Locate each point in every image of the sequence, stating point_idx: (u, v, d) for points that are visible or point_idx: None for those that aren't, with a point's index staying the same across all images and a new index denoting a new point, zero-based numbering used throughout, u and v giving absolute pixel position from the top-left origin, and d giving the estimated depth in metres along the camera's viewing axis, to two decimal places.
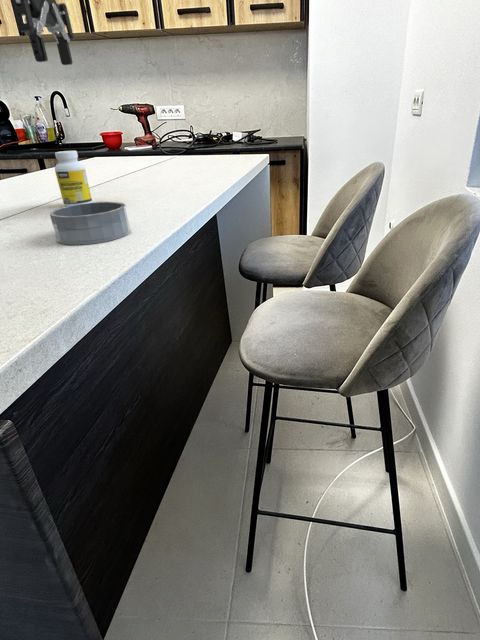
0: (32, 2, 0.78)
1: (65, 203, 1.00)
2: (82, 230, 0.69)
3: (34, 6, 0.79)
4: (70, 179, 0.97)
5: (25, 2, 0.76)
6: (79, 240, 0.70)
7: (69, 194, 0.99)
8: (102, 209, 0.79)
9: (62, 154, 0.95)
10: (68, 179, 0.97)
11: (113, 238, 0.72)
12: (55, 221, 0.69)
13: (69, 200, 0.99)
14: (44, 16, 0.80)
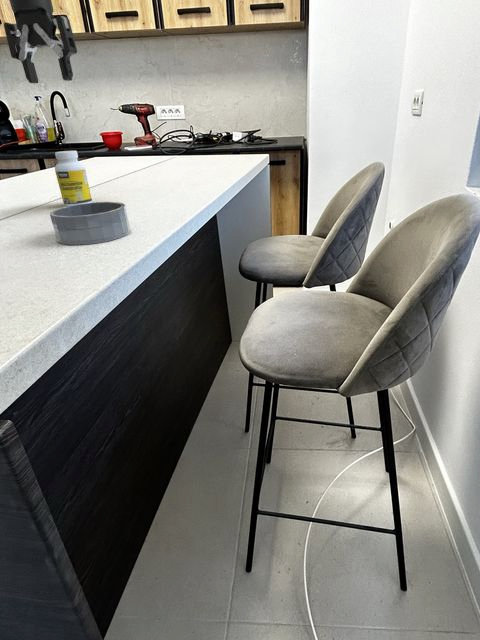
0: (56, 27, 0.85)
1: (65, 203, 1.00)
2: (82, 230, 0.69)
3: (55, 30, 0.85)
4: (70, 179, 0.97)
5: None
6: (79, 240, 0.70)
7: (69, 194, 0.99)
8: (102, 209, 0.79)
9: (62, 154, 0.95)
10: (68, 179, 0.97)
11: (113, 238, 0.72)
12: (55, 221, 0.69)
13: (69, 199, 0.99)
14: None
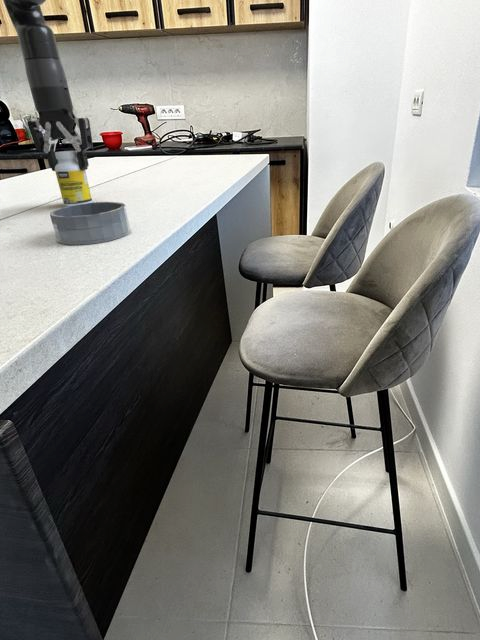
0: (76, 123, 0.94)
1: (65, 203, 1.00)
2: (82, 230, 0.69)
3: None
4: (70, 179, 0.97)
5: None
6: (79, 240, 0.70)
7: (69, 194, 0.99)
8: (102, 209, 0.79)
9: (62, 154, 0.95)
10: (68, 179, 0.97)
11: (113, 238, 0.72)
12: (55, 221, 0.69)
13: (69, 199, 0.99)
14: None
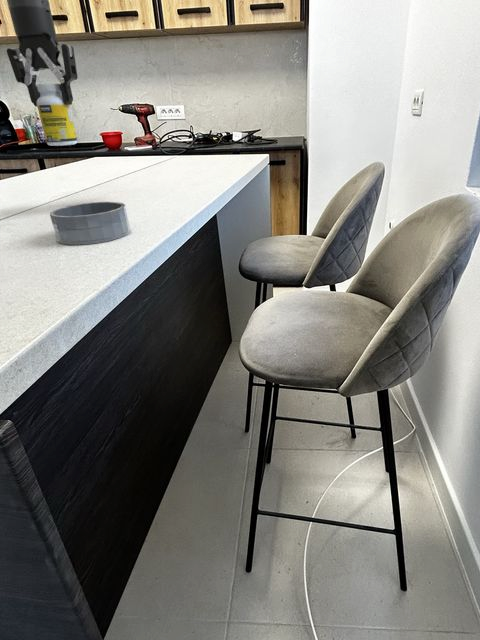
0: (59, 52, 0.88)
1: (48, 141, 0.94)
2: (82, 230, 0.69)
3: None
4: (53, 113, 0.91)
5: None
6: (79, 240, 0.70)
7: (52, 131, 0.92)
8: (102, 209, 0.79)
9: (44, 85, 0.89)
10: (51, 114, 0.91)
11: (113, 238, 0.72)
12: (55, 221, 0.69)
13: (52, 137, 0.93)
14: None
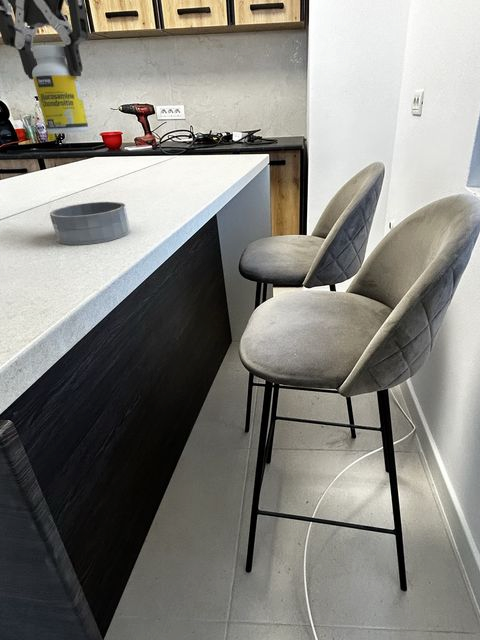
0: (63, 0, 0.62)
1: (48, 128, 0.68)
2: (82, 230, 0.69)
3: None
4: (56, 88, 0.65)
5: None
6: (79, 240, 0.70)
7: (55, 113, 0.66)
8: (102, 209, 0.79)
9: (43, 48, 0.63)
10: (53, 89, 0.65)
11: (113, 238, 0.72)
12: (55, 221, 0.69)
13: (55, 122, 0.67)
14: None
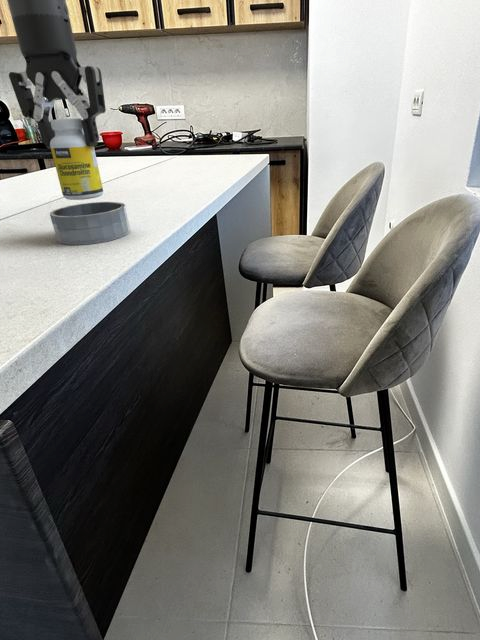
0: (81, 76, 0.64)
1: (65, 195, 0.70)
2: (82, 230, 0.69)
3: None
4: (73, 159, 0.67)
5: None
6: (79, 240, 0.70)
7: (72, 182, 0.68)
8: (102, 209, 0.79)
9: (61, 122, 0.65)
10: (70, 160, 0.67)
11: (113, 238, 0.72)
12: (55, 221, 0.69)
13: (71, 189, 0.69)
14: None
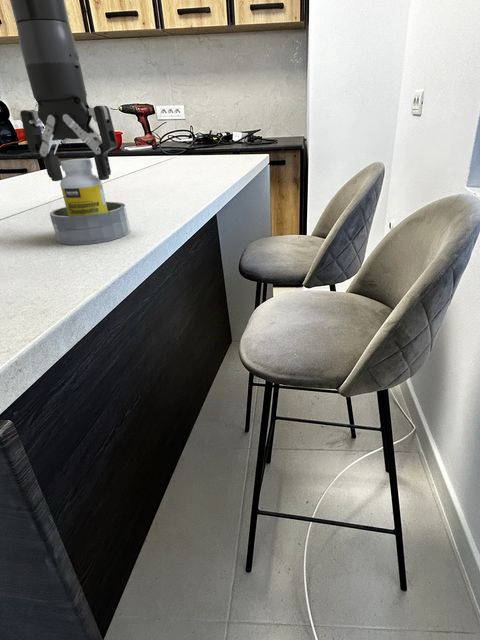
0: (91, 117, 0.66)
1: None
2: (82, 230, 0.69)
3: None
4: (83, 198, 0.69)
5: None
6: (79, 240, 0.70)
7: None
8: None
9: (71, 164, 0.68)
10: (80, 199, 0.69)
11: (113, 238, 0.72)
12: (55, 221, 0.69)
13: None
14: None
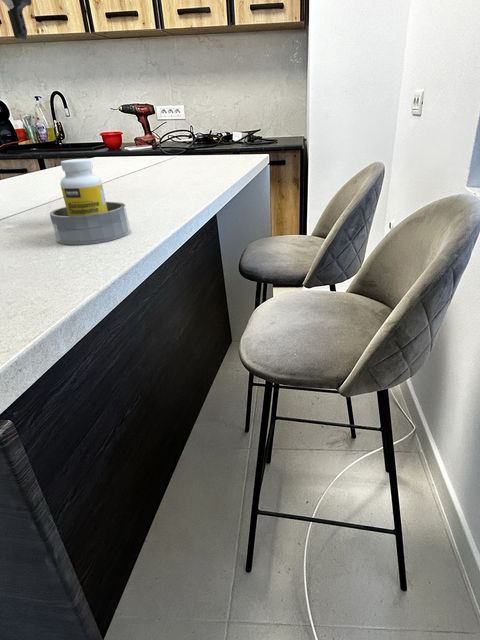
0: None
1: None
2: (82, 230, 0.69)
3: None
4: (83, 198, 0.69)
5: None
6: (79, 240, 0.70)
7: None
8: None
9: (71, 164, 0.68)
10: (80, 199, 0.69)
11: (113, 238, 0.72)
12: (55, 221, 0.69)
13: None
14: None
